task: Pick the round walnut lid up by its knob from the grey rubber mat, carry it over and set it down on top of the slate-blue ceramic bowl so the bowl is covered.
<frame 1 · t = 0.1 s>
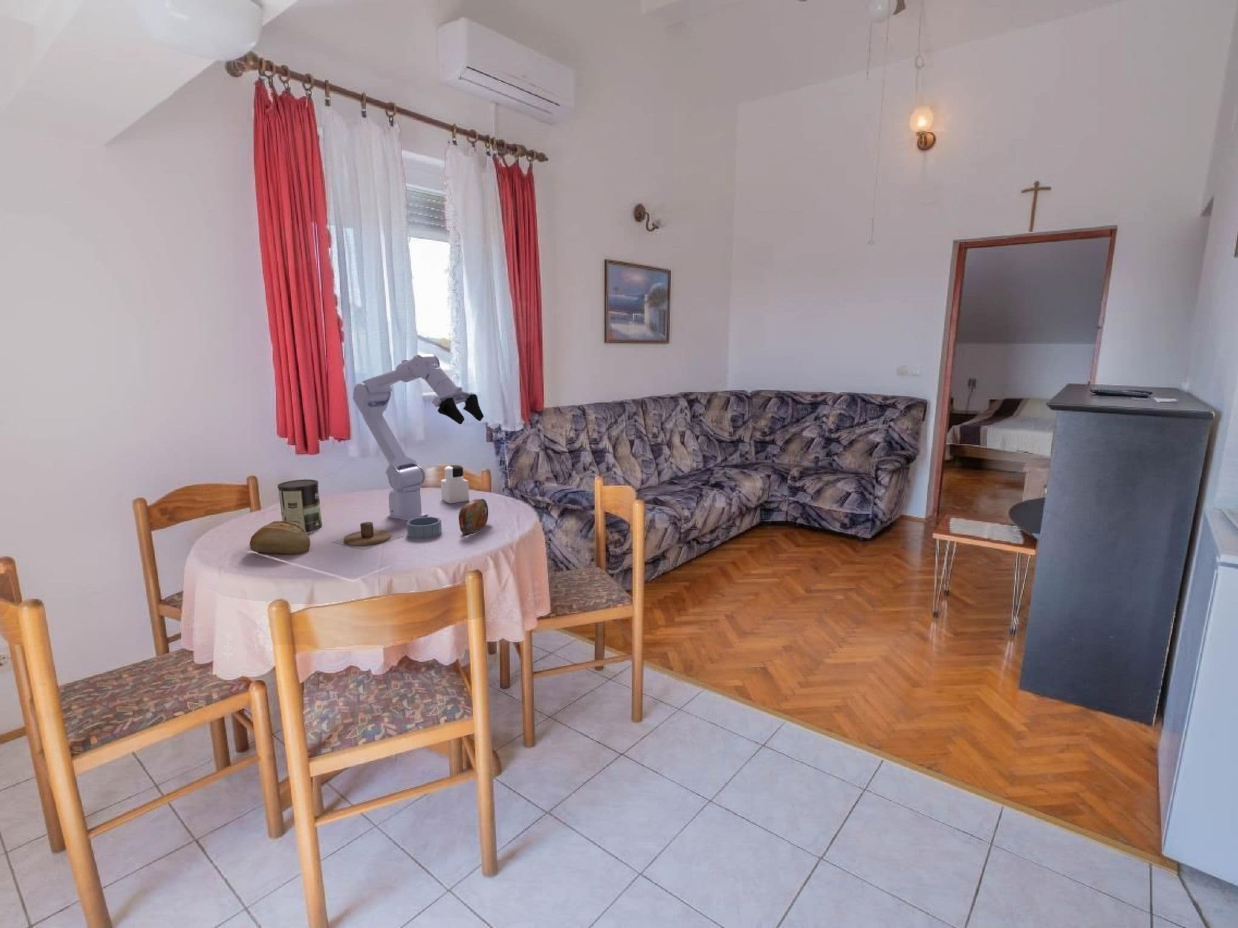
hand: (472, 420, 171), 32 cm above the table, tool tilted 50°, fingers open, 7 cm apart
lid: (367, 539, 168), resting on mat
mat: (368, 540, 168), on the table
bread roll: (282, 552, 159), on the table
coffee can: (303, 531, 177), on the table
medicine bottle: (455, 500, 210), on the table
bowl: (424, 534, 173), on the table
tin: (474, 530, 178), on the table
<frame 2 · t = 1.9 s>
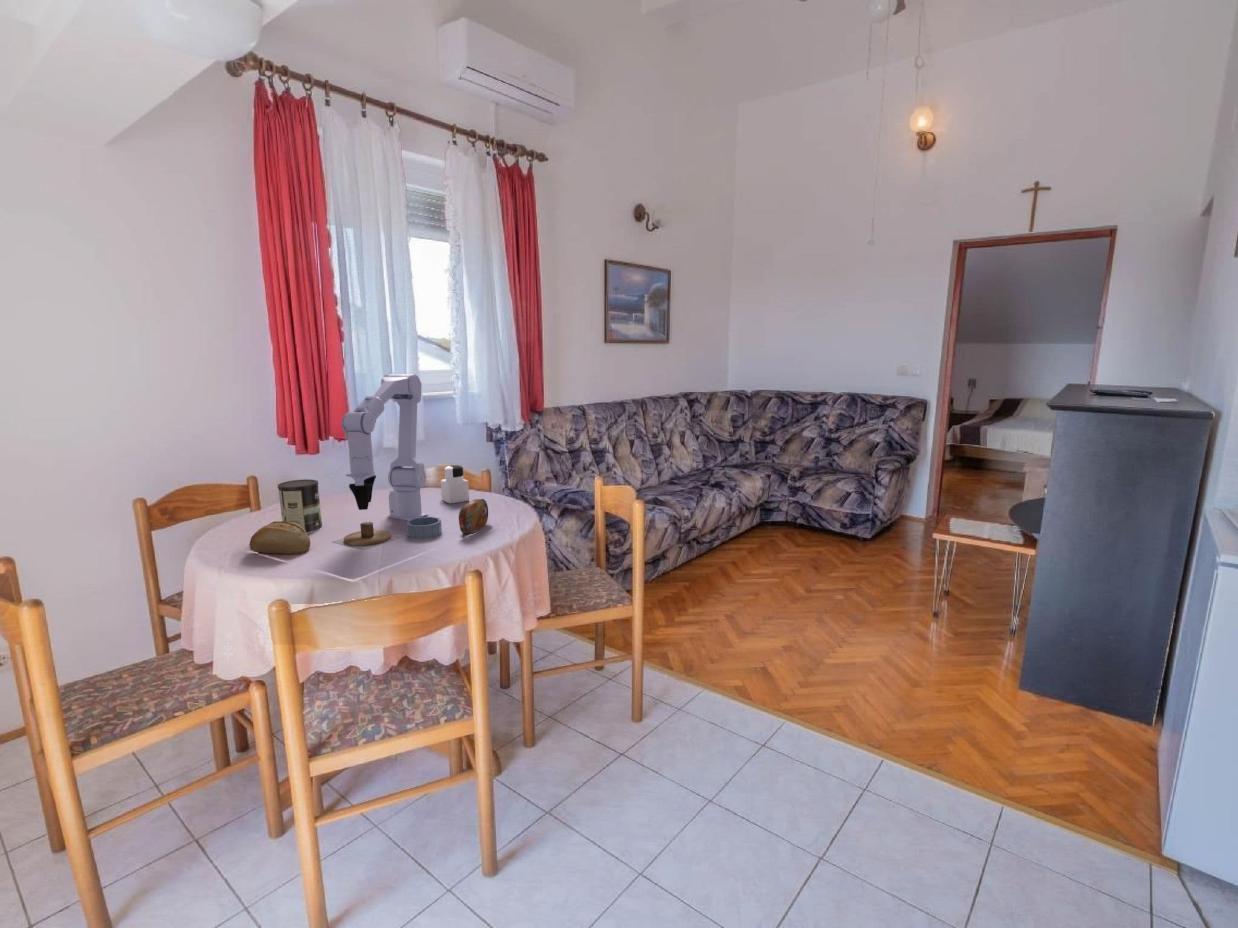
hand: (365, 505, 166), 10 cm above the table, tool pointing down, fingers open, 7 cm apart
nothing on the table moved.
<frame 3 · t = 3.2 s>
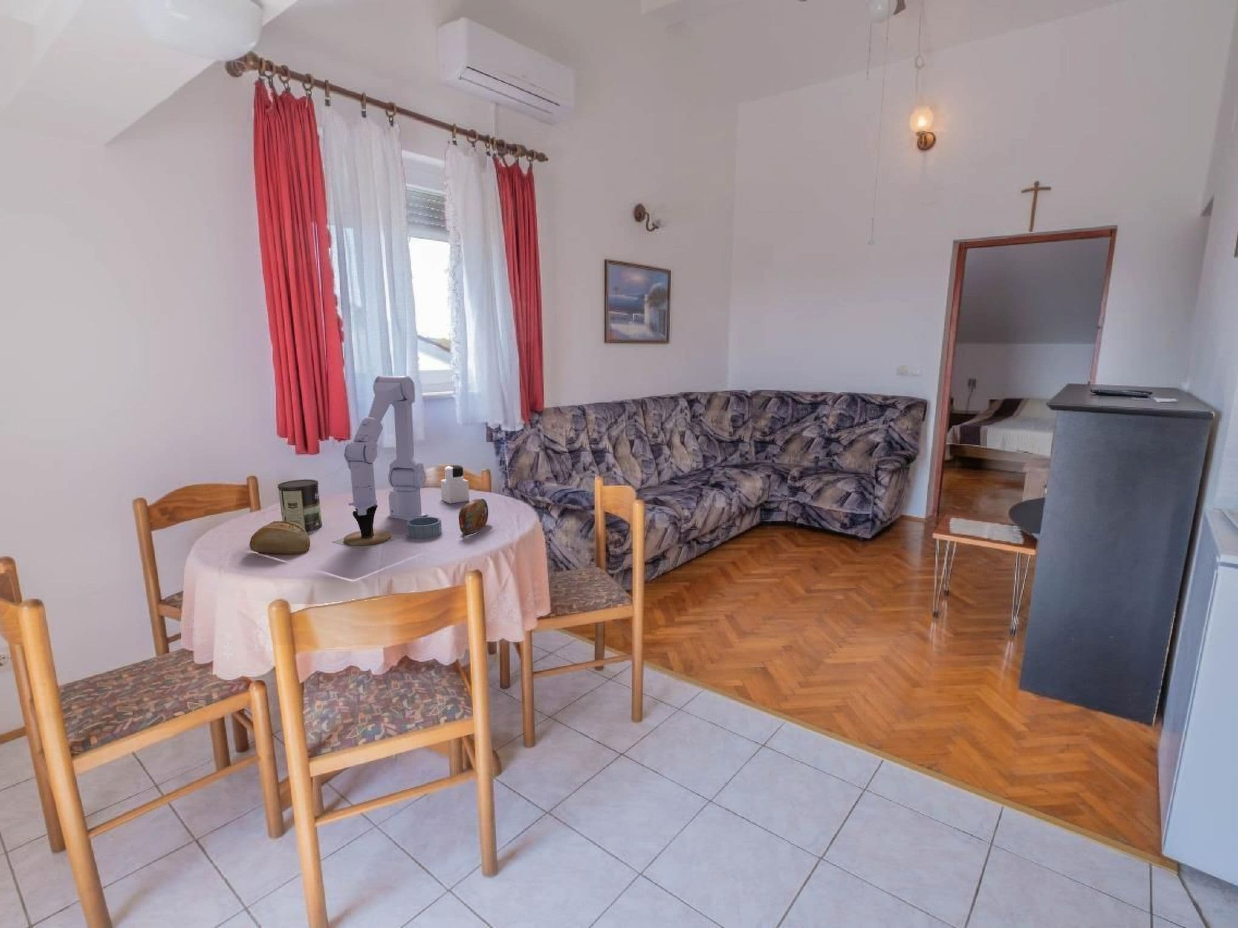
hand: (367, 533, 167), 2 cm above the table, tool pointing down, fingers closed on lid, 3 cm apart
lid: (367, 538, 168), resting on mat, touching gripper
everything else where it was.
when the fingers open (7 cm above the table, at t = 6.3 s): lid drops 1 cm, resting on bowl.
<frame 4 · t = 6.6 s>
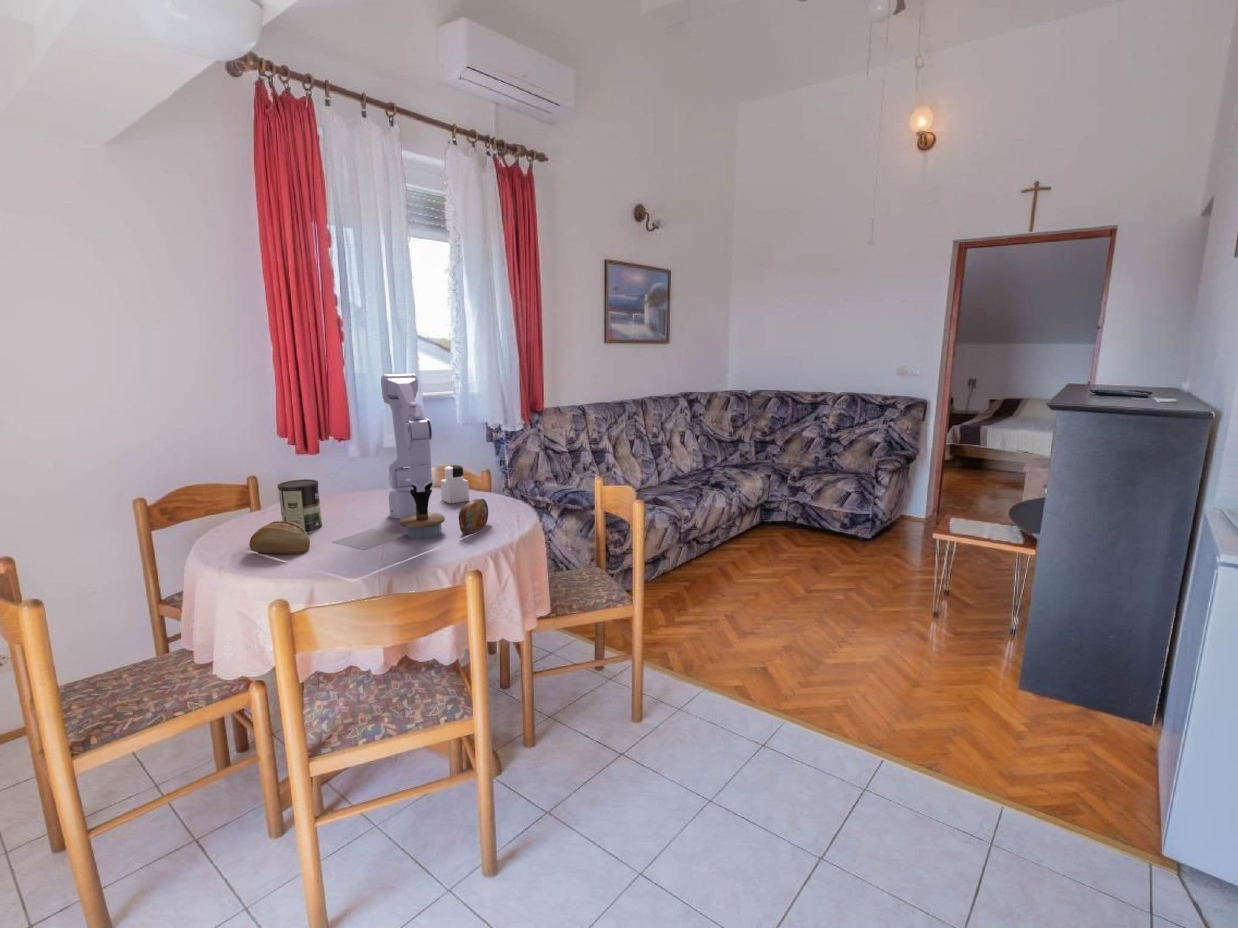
hand: (423, 511, 172), 7 cm above the table, tool pointing down, fingers open, 6 cm apart
lid: (422, 521, 172), point 4 cm above the table, touching bowl
everything else where it was.
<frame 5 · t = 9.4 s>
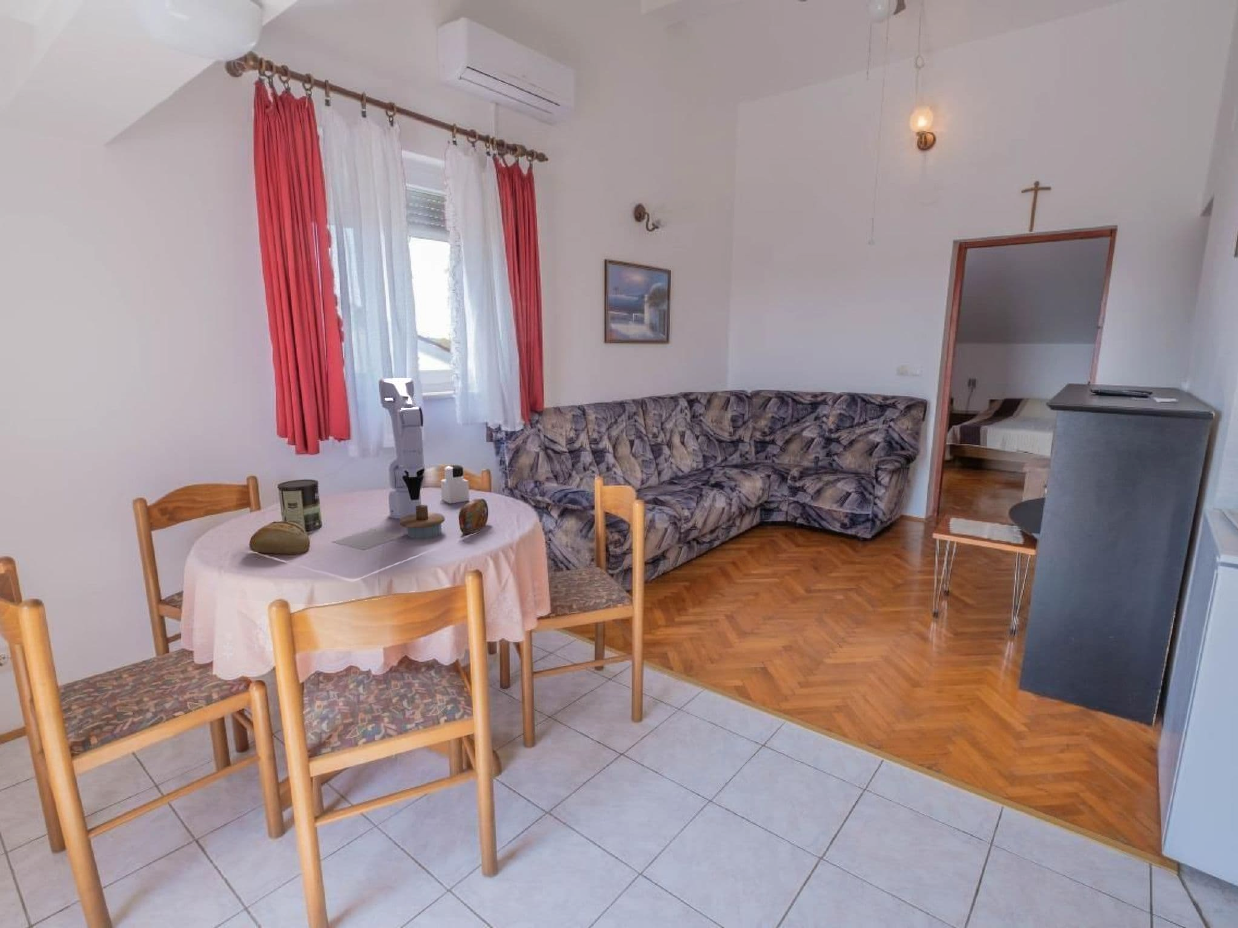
hand: (415, 496, 176), 10 cm above the table, tool pointing down, fingers open, 7 cm apart
nothing on the table moved.
at the end: lid 0.4 cm off-centre on the bowl, point 4.0 cm above the bowl's base; lid tilted 0°; the gripper is holding nothing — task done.
